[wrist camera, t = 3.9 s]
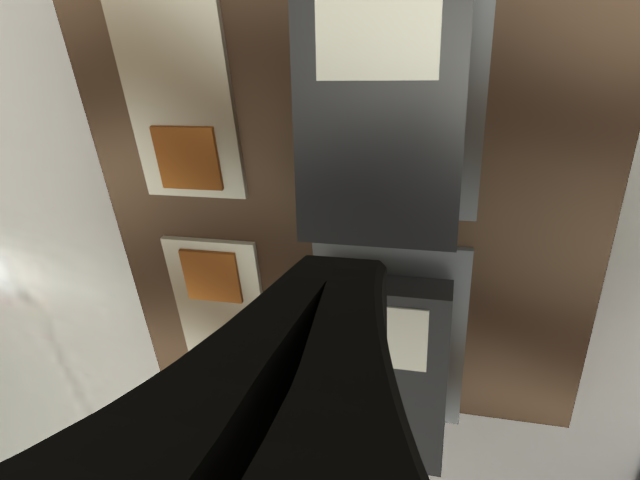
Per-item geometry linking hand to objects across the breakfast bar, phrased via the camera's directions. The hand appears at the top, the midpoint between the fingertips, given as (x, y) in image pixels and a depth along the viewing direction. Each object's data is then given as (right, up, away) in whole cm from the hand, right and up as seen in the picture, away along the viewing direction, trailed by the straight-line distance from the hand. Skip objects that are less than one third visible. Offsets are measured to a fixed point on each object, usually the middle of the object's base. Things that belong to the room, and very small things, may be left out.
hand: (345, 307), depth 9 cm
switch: (+1, -3, +6) cm, 7 cm away
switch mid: (+1, +4, +2) cm, 5 cm away
